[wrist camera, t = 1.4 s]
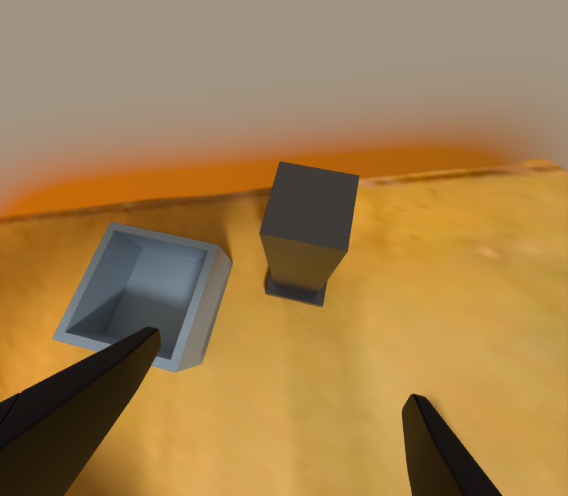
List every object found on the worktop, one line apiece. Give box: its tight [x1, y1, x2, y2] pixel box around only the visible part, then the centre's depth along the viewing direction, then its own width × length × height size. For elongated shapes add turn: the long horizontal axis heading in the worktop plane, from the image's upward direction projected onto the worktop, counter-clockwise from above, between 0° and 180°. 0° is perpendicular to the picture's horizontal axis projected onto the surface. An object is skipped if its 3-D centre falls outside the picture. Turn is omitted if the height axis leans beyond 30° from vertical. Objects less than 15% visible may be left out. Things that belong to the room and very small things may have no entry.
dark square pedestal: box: [260, 162, 359, 307], centre depth 17 cm, size 5×5×13 cm
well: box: [52, 222, 233, 372], centre depth 20 cm, size 9×9×5 cm
